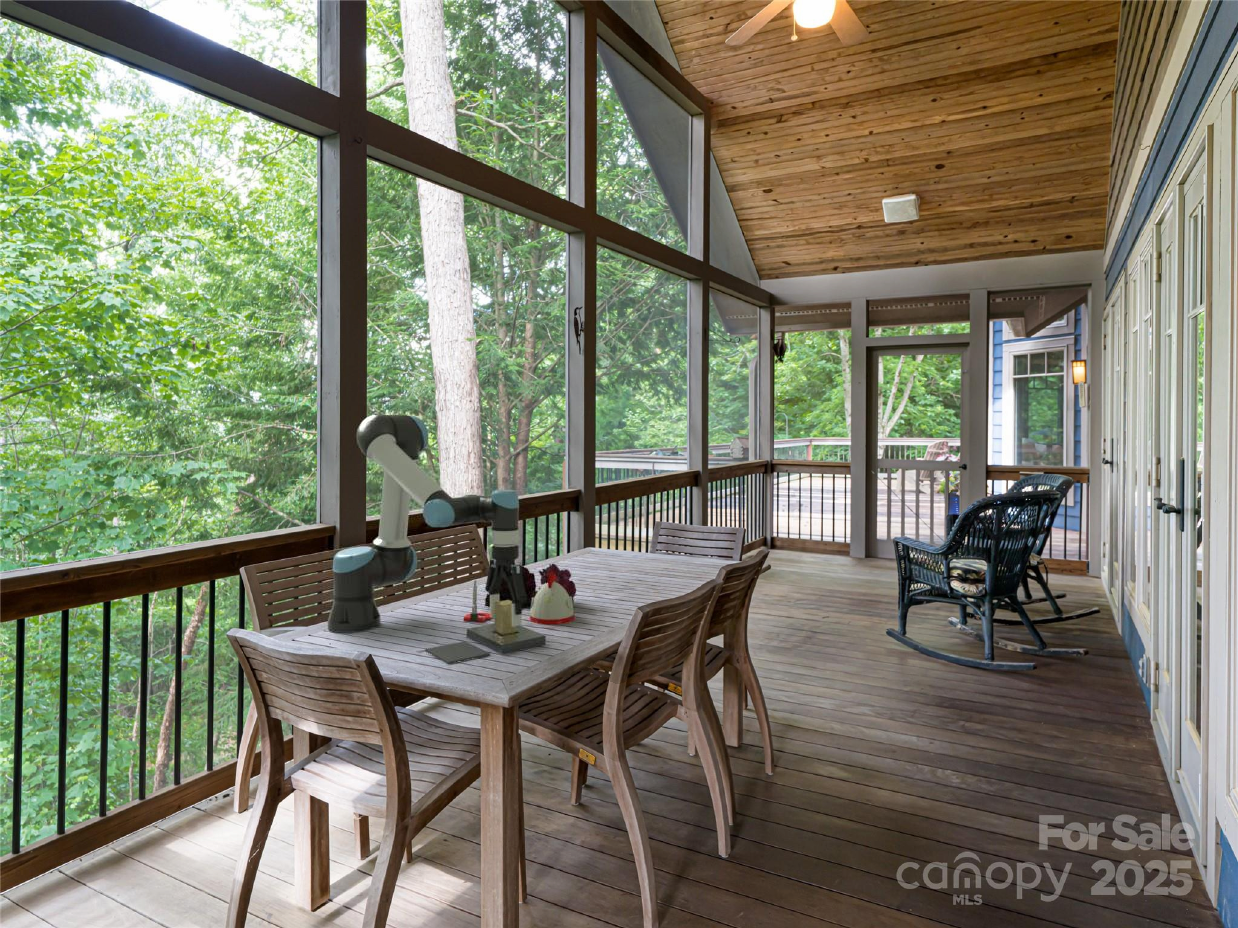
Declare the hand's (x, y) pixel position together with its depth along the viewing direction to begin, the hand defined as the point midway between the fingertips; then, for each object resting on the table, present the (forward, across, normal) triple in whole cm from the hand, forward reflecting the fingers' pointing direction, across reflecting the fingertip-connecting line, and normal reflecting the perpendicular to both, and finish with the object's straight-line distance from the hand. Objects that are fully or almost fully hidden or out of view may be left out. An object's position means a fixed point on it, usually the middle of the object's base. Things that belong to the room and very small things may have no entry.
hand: (505, 621), depth 205 cm
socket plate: (+6, 0, 0) cm, 6 cm away
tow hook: (+6, +27, -6) cm, 28 cm away
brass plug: (+6, 0, 0) cm, 6 cm away
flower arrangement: (+6, +31, -29) cm, 43 cm away
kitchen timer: (+6, +12, -24) cm, 27 cm away
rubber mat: (+6, -2, +16) cm, 17 cm away
